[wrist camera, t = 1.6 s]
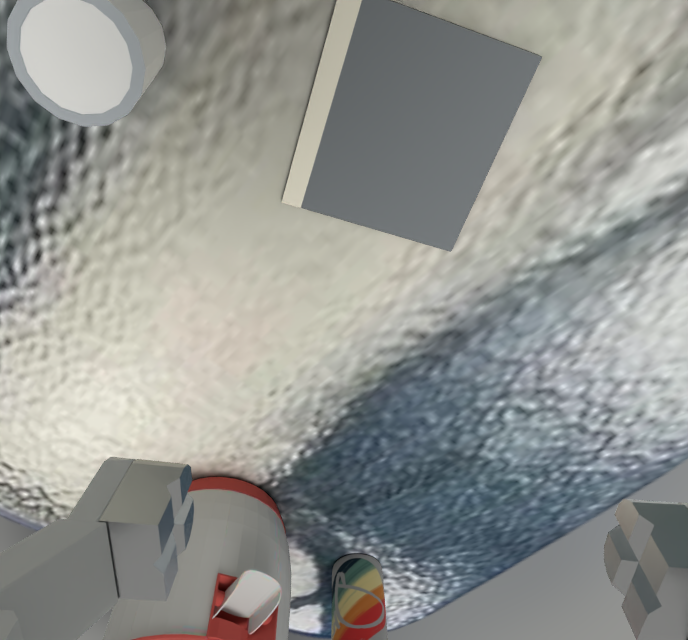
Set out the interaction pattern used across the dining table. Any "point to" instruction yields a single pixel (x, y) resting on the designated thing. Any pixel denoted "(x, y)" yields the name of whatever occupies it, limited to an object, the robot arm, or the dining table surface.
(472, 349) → the dining table surface
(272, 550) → the citrus juicer
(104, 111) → the shot glass
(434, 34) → the mat
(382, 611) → the lotion bottle
